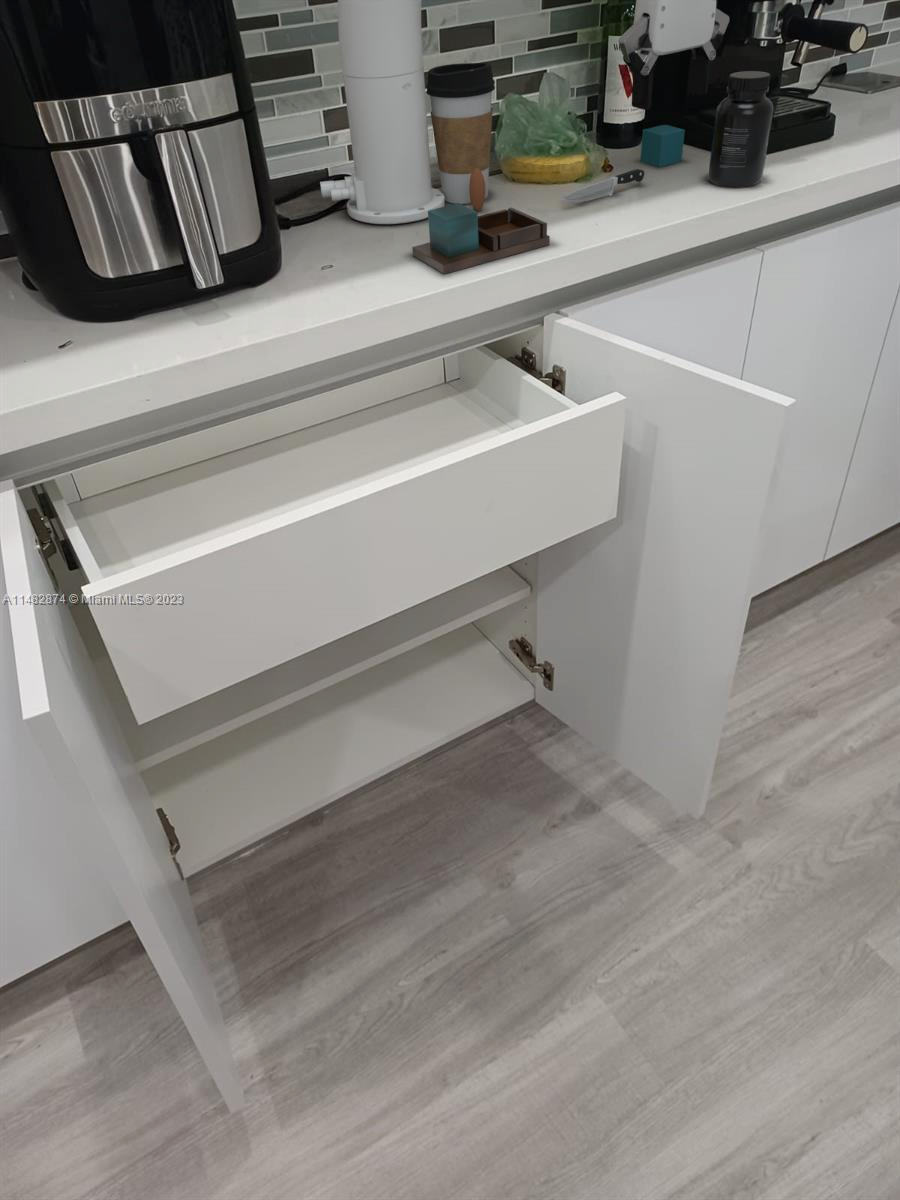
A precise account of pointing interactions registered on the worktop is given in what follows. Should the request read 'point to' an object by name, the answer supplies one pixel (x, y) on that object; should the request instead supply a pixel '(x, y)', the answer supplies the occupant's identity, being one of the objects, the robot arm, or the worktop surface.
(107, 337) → the worktop surface
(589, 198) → the knife
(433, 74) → the coffee cup
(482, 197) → the orange ellipsoid
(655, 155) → the teal cube
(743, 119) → the supplement bottle
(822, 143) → the worktop surface
